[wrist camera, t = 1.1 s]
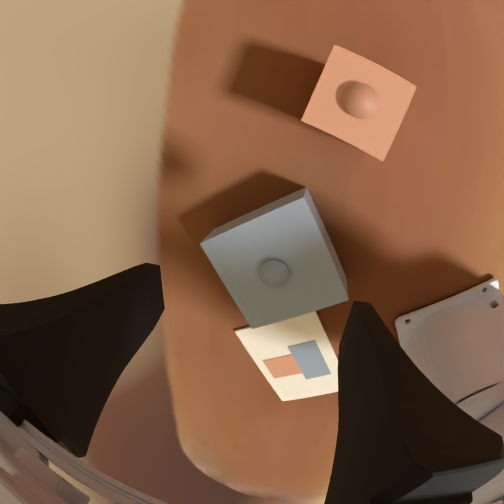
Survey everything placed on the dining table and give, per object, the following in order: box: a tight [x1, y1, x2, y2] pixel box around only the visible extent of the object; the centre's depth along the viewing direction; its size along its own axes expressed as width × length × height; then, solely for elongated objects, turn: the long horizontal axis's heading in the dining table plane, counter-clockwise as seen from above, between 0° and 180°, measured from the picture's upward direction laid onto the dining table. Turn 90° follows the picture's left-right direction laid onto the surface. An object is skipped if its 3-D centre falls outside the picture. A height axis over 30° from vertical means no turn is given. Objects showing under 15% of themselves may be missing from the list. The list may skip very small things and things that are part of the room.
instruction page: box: [235, 311, 338, 401], centre depth 24 cm, size 7×10×1 cm
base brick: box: [200, 187, 349, 329], centre depth 19 cm, size 7×7×3 cm
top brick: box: [301, 45, 416, 161], centre depth 12 cm, size 4×4×5 cm
